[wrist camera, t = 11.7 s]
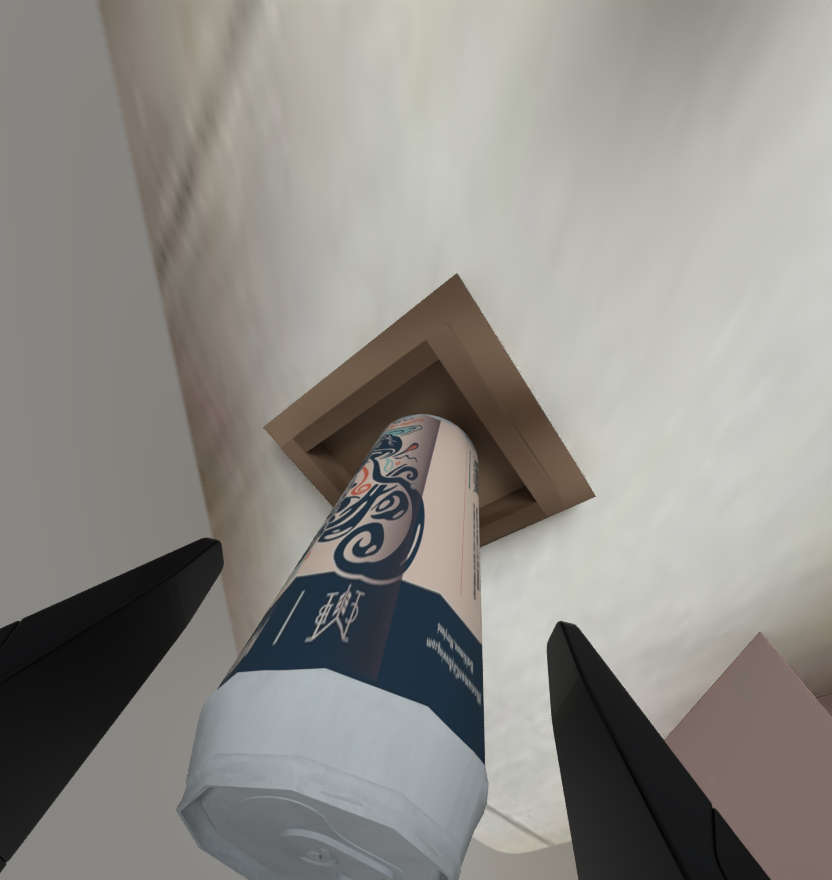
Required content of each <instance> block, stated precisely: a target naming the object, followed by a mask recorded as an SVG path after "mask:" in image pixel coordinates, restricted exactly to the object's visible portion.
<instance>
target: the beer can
mask: <svg viewBox="0 0 832 880" xmlns="http://www.w3.org/2000/svg"><path fill="white" fill-rule="evenodd" d="M487 795H488V779H487V773H486V768H485V742H484V701H483V661H482V620H481V580H480V539H479V498H478V455H477V452H476V450H475V447H474V445H473V443H472V441H471V440H470V439H469V437H468V436H467V435H466V433H465V432H464V431H463V430H461V429H460V428H459V427H458V426H457V425H455V424H453V423H452V422H450V421H448V420H446V419H444V418H441V417H438V416H433V415H428V414H416V415H411V416H406V417H402V418H400V419H398V420H396V421H394V422H392V423H390V424H389V425H388V426H387V427H386V428H385V429H384V430H383V431H382V432H381V433H380V435H379V436H378V438H377V440H376V441H375V443H374V445H373V447H372V449H371V450H370V452H369V453H368V455H367V457H366V458H365V460H364V461H363V463H362V464H361V466H360V467H359V469H358V471H357V472H356V474H355V475H354V477H353V478H352V480H351V482H350V483H349V485H348V486H347V488H346V489H345V491H344V492H343V494H342V496H341V497H340V499H339V500H338V502H337V503H336V505H335V507H334V508H333V510H332V511H331V513H330V514H329V516H328V517H327V519H326V521H325V522H324V524H323V525H322V527H321V528H320V530H319V531H318V533H317V535H316V536H315V538H314V539H313V541H312V542H311V544H310V546H309V547H308V549H307V550H306V552H305V553H304V555H303V556H302V558H301V560H300V561H299V563H298V564H297V566H296V567H295V569H294V570H293V572H292V574H291V575H290V577H289V578H288V580H287V581H286V583H285V585H284V586H283V588H282V589H281V591H280V592H279V594H278V595H277V597H276V599H275V600H274V602H273V603H272V605H271V606H270V608H269V609H268V611H267V613H266V614H265V616H264V617H263V619H262V620H261V622H260V624H259V625H258V627H257V628H256V630H255V631H254V633H253V634H252V636H251V638H250V639H249V641H248V642H247V644H246V645H245V647H244V649H243V650H242V652H241V653H240V655H239V656H238V658H237V659H236V661H235V663H234V664H233V666H232V667H231V669H230V670H229V672H228V673H227V675H226V677H225V678H224V680H223V681H222V683H221V684H220V686H219V688H218V689H217V690H216V691H215V692H214V693H213V694H212V695H210V696H209V698H208V699H207V701H206V703H205V704H204V706H203V708H202V710H201V713H200V716H199V720H198V725H197V730H196V735H195V740H194V744H193V749H192V754H191V759H190V765H189V769H188V774H187V779H186V789H185V792H184V795H183V798H182V800H181V802H180V804H179V805H178V807H177V809H176V811H177V813H178V814H179V816H180V817H181V819H182V821H183V822H184V824H185V825H186V827H187V829H188V830H189V832H190V834H191V836H192V837H193V839H194V840H195V842H196V844H197V845H198V847H199V848H200V849H202V850H203V851H205V852H206V853H208V854H209V855H211V856H213V857H214V858H216V859H217V860H219V861H220V862H222V863H223V864H225V865H227V866H228V867H229V868H231V869H233V870H234V871H236V872H237V873H239V874H240V875H242V876H243V877H245V878H246V879H248V880H458V879H459V876H460V873H461V865H462V862H463V860H464V857H465V854H466V852H467V849H468V846H469V843H470V841H471V838H472V835H473V832H474V830H475V828H476V826H477V825H478V823H479V821H480V819H481V817H482V815H483V813H484V810H485V807H486V804H487Z"/></svg>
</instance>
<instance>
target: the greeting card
mask: <svg viewBox="0 0 832 880" xmlns="http://www.w3.org/2000/svg"><path fill="white" fill-rule="evenodd" d="M664 741H665V742H666V743H667V745H668V746H669V747H670V749H671V750H672V751H673V753H674V754H675V755H676V757H677V758H678V759H679V761H680V762H681V763H682V764H683V766H684V767H685V768H686V770H687V771H688V772H689V774H690V775H691V776H692V778H693V779H694V780H695V782H696V783H697V784H698V786H699V787H700V788H701V789H702V791H703V792H704V793H705V795H706V796H707V797H708V799H709V800H710V801H711V803H712V808H716V809H717V810H718V812H719V813H720V814H721V816H722V817H723V818H724V819H725V821H726V822H727V823H728V825H729V826H730V827H731V829H732V830H733V831H734V833H735V834H736V835H737V837H738V838H739V839H740V840H741V842H742V843H743V844H744V846H745V847H746V848H747V849H748V851H749V852H750V853H751V854H752V856H753V857H754V858H755V860H756V861H757V862H758V863H759V865H760V866H761V867H762V869H763V870H764V871H765V872H766V874H767V875H768V876H769V878H770V879H771V880H832V694H829V695H826V696H822V697H818V698H815V696H814V695H813V694H812V693H811V692H810V690H809V689H808V688H807V687H806V686H805V685H804V683H803V682H802V681H801V680H800V679H799V677H798V676H797V675H796V674H795V673H794V671H793V670H792V669H791V668H790V667H789V665H788V664H787V663H786V662H785V661H784V659H783V658H782V657H781V656H780V655H779V654H778V652H777V651H776V650H775V649H774V648H773V646H772V645H771V644H770V643H769V642H768V640H767V639H766V638H765V637H764V636H763V634H762V633H761V632H759V633H758V635H757V636H756V637H755V638H754V639H753V640H752V641H751V643H750V644H749V645H748V646H747V647H746V648H745V649H744V651H743V652H742V653H741V654H740V655H739V656H738V657H737V658H736V660H735V661H734V662H733V663H732V664H731V665H730V666H729V668H728V669H727V670H726V671H725V672H724V673H723V674H722V676H721V677H720V678H719V679H718V680H717V681H716V682H715V684H714V685H713V686H712V687H711V688H710V689H709V690H708V692H707V693H706V694H705V695H704V696H703V697H702V698H701V699H700V701H699V702H698V703H697V704H696V705H695V706H694V707H693V709H692V710H691V711H690V712H689V713H688V714H687V715H686V717H685V718H684V719H683V720H682V721H681V722H680V723H679V725H678V726H677V727H676V728H675V729H674V730H673V731H672V733H671V734H670V735H669V736H668V737H667V738H666V739H665V740H664Z"/></svg>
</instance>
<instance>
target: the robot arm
mask: <svg viewBox="0 0 832 880" xmlns="http://www.w3.org/2000/svg"><path fill="white" fill-rule="evenodd" d="M223 565H224V559H223V551H222V544H221V542H220V541H219V540H216V539H211V538H202V539H200V540H197V541H195V542H193V543H191V544H188V545H186V546H184V547H182V548H179V549H177V550H175V551H173V552H170V553H168V554H166V555H164V556H161V557H159V558H157V559H155V560H153V561H150V562H148V563H146V564H144V565H142V566H139V567H137V568H135V569H132V570H130V571H128V572H126V573H124V574H122V575H119V576H117V577H115V578H113V579H110V580H108V581H106V582H103V583H101V584H99V585H97V586H94V587H92V588H90V589H88V590H86V591H83V592H81V593H79V594H77V595H74V596H72V597H70V598H68V599H65V600H63V601H61V602H59V603H56V604H54V605H52V606H50V607H48V608H45V609H43V610H41V611H39V612H37V613H35V614H32V615H30V616H27V617H25V618H23V619H22V620H21V621H16V622H14V623H12V624H9V625H7V626H5V627H3V628H1V629H0V873H1V871H2V870H3V869H4V867H5V866H6V862H8V861H9V860H10V859H11V858H12V856H13V855H14V854H15V852H16V851H17V850H18V848H19V847H20V846H21V844H22V843H23V842H24V840H25V839H26V838H27V836H28V835H29V834H30V833H31V831H32V830H33V828H34V827H35V826H36V825H37V823H38V822H39V821H40V819H41V818H42V817H43V815H44V814H45V813H46V811H47V810H48V809H49V807H50V806H51V805H52V803H53V802H54V801H55V799H56V798H57V797H58V796H59V794H60V793H61V792H62V790H63V789H64V788H65V786H66V785H67V784H68V782H69V781H70V780H71V778H72V777H73V776H74V775H75V773H76V772H77V771H78V769H79V768H80V767H81V765H82V764H83V763H84V761H85V760H86V759H87V757H88V756H89V755H90V753H91V752H92V751H93V749H94V748H95V747H96V746H97V744H98V743H99V741H100V740H101V739H102V738H103V736H104V735H105V734H106V732H107V731H108V730H109V728H110V727H111V726H112V724H113V723H114V722H115V721H116V719H117V718H118V716H119V715H120V714H121V712H122V711H123V710H124V709H125V707H126V706H127V705H128V703H129V702H130V701H131V699H132V698H133V697H134V695H135V694H136V693H137V691H138V690H139V689H140V688H141V686H142V685H143V684H144V682H145V681H146V680H147V678H148V677H149V676H150V674H151V673H152V672H153V670H154V669H155V668H156V667H157V665H158V664H159V662H160V661H161V660H162V659H163V657H164V656H165V655H166V653H167V652H168V651H169V649H170V648H171V647H172V645H173V644H174V643H175V641H176V640H177V639H178V638H179V636H180V635H181V633H182V632H183V631H184V629H185V628H186V626H187V625H188V624H189V622H190V621H191V619H192V618H193V616H194V614H195V613H196V611H197V610H198V608H199V606H200V605H201V603H202V602H203V600H204V598H205V597H206V595H207V594H208V592H209V590H210V589H211V587H212V586H213V584H214V582H215V581H216V579H217V577H218V576H219V575H220V573H221V571H222V569H223ZM547 662H548V676H549V690H550V704H551V716H552V725H553V731H554V738H555V744H556V750H557V755H558V761H559V767H560V773H561V779H562V785H563V791H564V797H565V803H566V809H567V815H568V821H569V826H570V832H571V838H572V844H573V850H574V856H575V861H576V868H577V874H578V879H579V880H771V879H770V878H769V876H768V875H767V874H766V872H765V871H764V870H763V869H762V867H761V866H760V865H759V863H758V862H757V861H756V860H755V858H754V857H753V856H752V854H751V853H750V852H749V851H748V849H747V848H746V847H745V846H744V844H743V843H742V842H741V840H740V839H739V838H738V837H737V835H736V834H735V833H734V831H733V830H732V829H731V827H730V826H729V825H728V823H727V822H726V821H725V819H724V818H723V817H722V816H721V814H720V813H719V812H718V810H717V809H716V808H712V803H711V801H710V800H709V799H708V797H707V796H706V795H705V793H704V792H703V791H702V789H701V788H700V787H699V786H698V784H697V783H696V782H695V780H694V779H693V778H692V776H691V775H690V774H689V772H688V771H687V770H686V768H685V767H684V766H683V764H682V763H681V762H680V761H679V759H678V758H677V757H676V755H675V754H674V753H673V751H672V750H671V749H670V747H669V746H668V745H667V743H666V742H665V741H664V739H663V738H662V737H661V736H660V734H659V733H658V732H657V730H656V729H655V728H654V726H653V725H652V724H651V722H650V721H649V720H648V718H647V717H646V716H645V714H644V713H643V712H642V711H641V709H640V708H639V707H638V705H637V704H636V703H635V701H634V700H633V699H632V697H631V696H630V695H629V693H628V692H627V691H626V689H625V688H624V687H623V686H622V684H621V683H620V682H619V680H618V679H617V678H616V676H615V675H614V674H613V672H612V671H611V670H610V668H609V667H608V666H607V664H606V663H605V662H604V661H603V659H602V658H601V657H600V655H599V654H598V653H597V651H596V650H595V649H594V647H593V646H592V645H591V643H590V642H589V641H588V639H587V638H586V637H585V636H584V634H583V633H582V632H581V630H580V629H579V628H578V627H577V626H576V625H575V624H572V623H567V622H563V621H559V622H557V624H556V626H555V628H554V630H553V632H552V634H551V636H550V638H549V640H548V643H547Z"/></svg>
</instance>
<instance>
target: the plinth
mask: <svg viewBox="0 0 832 880" xmlns="http://www.w3.org/2000/svg"><path fill="white" fill-rule="evenodd" d="M416 414H428V415H433V416H438V417H441V418H444V419H446V420H448V421H450V422H452V423H453V424H455V425H457V426H458V427H459V428H460V429H461V430H463V431H464V432H465V433H466V435H467V436H468V437H469V439H470V440H471V441H472V443H473V445H474V447H475V450H476V452H477V455H478V498H479V539H480V547H482V546H484V545H486V544H489V543H491V542H493V541H496V540H498V539H500V538H502V537H505V536H507V535H509V534H511V533H514V532H516V531H518V530H521V529H523V528H525V527H527V526H530V525H532V524H534V523H537V522H539V521H541V520H543V519H546V518H548V517H550V516H552V515H555V514H557V513H559V512H562V511H564V510H566V509H568V508H571V507H573V506H575V505H577V504H580V503H582V502H584V501H587V500H589V499H591V498H593V497H596V496H595V494H594V493H593V491H592V489H591V487H590V486H589V484H588V482H587V481H586V479H585V477H584V476H583V474H582V473H581V471H580V469H579V468H578V466H577V465H576V463H575V461H574V460H573V458H572V457H571V455H570V453H569V452H568V450H567V449H566V447H565V445H564V444H563V442H562V440H561V439H560V437H559V436H558V434H557V432H556V431H555V429H554V428H553V426H552V424H551V423H550V421H549V420H548V418H547V416H546V415H545V413H544V412H543V410H542V408H541V407H540V405H539V404H538V402H537V400H536V399H535V397H534V396H533V394H532V392H531V391H530V389H529V388H528V386H527V384H526V383H525V381H524V379H523V378H522V376H521V375H520V373H519V371H518V370H517V368H516V367H515V365H514V363H513V362H512V360H511V359H510V357H509V355H508V354H507V352H506V351H505V349H504V347H503V346H502V344H501V343H500V341H499V339H498V338H497V336H496V335H495V333H494V331H493V330H492V328H491V326H490V325H489V323H488V322H487V320H486V318H485V317H484V315H483V314H482V312H481V310H480V309H479V307H478V306H477V304H476V302H475V301H474V299H473V298H472V296H471V294H470V293H469V291H468V290H467V288H466V286H465V285H464V283H463V282H462V280H461V278H460V277H459V275H458V274H457V273H456V274H455V275H454V276H453V277H451V278H450V279H449V280H448V281H446V282H445V283H444V284H443V285H441V286H440V287H439V288H438V289H436V290H435V291H434V292H433V293H431V294H430V295H429V296H428V297H426V298H425V299H424V300H422V301H421V302H420V303H419V304H417V305H416V306H415V307H414V308H412V309H411V310H410V311H409V312H407V313H406V314H405V315H404V316H402V317H401V318H400V319H399V320H397V321H396V322H395V323H394V324H392V325H391V326H390V327H389V328H387V329H386V330H385V331H384V332H382V333H381V334H380V335H378V336H377V337H376V338H375V339H373V340H372V341H371V342H370V343H368V344H367V345H366V346H365V347H363V348H362V349H361V350H360V351H358V352H357V353H356V354H355V355H353V356H352V357H351V358H350V359H348V360H347V361H346V362H345V363H343V364H342V365H341V366H340V367H338V368H337V369H336V370H334V371H333V372H332V373H331V374H329V375H328V376H327V377H326V378H324V379H323V380H322V381H321V382H319V383H318V384H317V385H316V386H314V387H313V388H312V389H311V390H309V391H308V392H307V393H306V394H304V395H303V396H302V397H301V398H299V399H298V400H297V401H296V402H294V403H293V404H292V405H290V406H289V407H288V408H287V409H285V410H284V411H283V412H282V413H280V414H279V415H278V416H277V417H275V418H274V419H273V420H272V421H270V422H269V423H268V424H267V425H265V426H264V427H263V428H264V429H265V430H266V431H267V432H268V433H269V435H270V436H271V437H272V438H273V439H274V440H275V441H276V442H277V443H278V445H279V446H280V447H281V449H282V450H283V451H284V452H285V453H286V454H287V456H288V457H289V458H290V459H291V460H292V461H293V462H294V463H295V465H296V466H297V467H298V468H299V469H300V470H301V471H302V472H303V474H304V475H305V476H306V477H307V478H308V479H309V480H310V481H311V482H312V484H313V485H314V486H315V487H316V488H317V489H318V490H319V491H320V493H321V494H322V495H323V496H324V497H325V498H326V499H327V500H328V502H329V503H330V504H331V505H332V506H333V507H335V505H336V503H337V502H338V500H339V499H340V497H341V496H342V494H343V492H344V491H345V489H346V488H347V486H348V485H349V483H350V482H351V480H352V478H353V477H354V475H355V474H356V472H357V471H358V469H359V467H360V466H361V464H362V463H363V461H364V460H365V458H366V457H367V455H368V453H369V452H370V450H371V449H372V447H373V445H374V443H375V441H376V440H377V438H378V436H379V435H380V433H381V432H382V431H383V430H384V429H385V428H386V427H387V426H388V425H389V424H390V423H392V422H394V421H396V420H398V419H400V418H402V417H406V416H411V415H416Z"/></svg>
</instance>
